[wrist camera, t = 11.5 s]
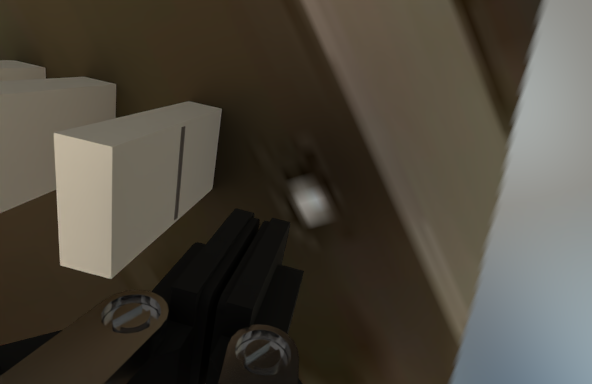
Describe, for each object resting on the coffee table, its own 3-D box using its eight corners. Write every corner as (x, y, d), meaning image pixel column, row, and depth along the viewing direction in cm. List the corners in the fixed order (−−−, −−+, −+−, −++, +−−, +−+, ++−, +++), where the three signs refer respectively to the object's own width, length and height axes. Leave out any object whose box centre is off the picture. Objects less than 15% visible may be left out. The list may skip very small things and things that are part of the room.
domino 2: (222, 108, 21) (114, 147, 11) (213, 189, 22) (112, 279, 13) (188, 101, 21) (52, 132, 11) (181, 181, 22) (59, 265, 13)
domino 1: (116, 84, 21) (-74, 101, 12) (114, 164, 23) (-51, 234, 14) (84, 76, 21) (-128, 87, 12) (85, 157, 23) (-98, 221, 14)
